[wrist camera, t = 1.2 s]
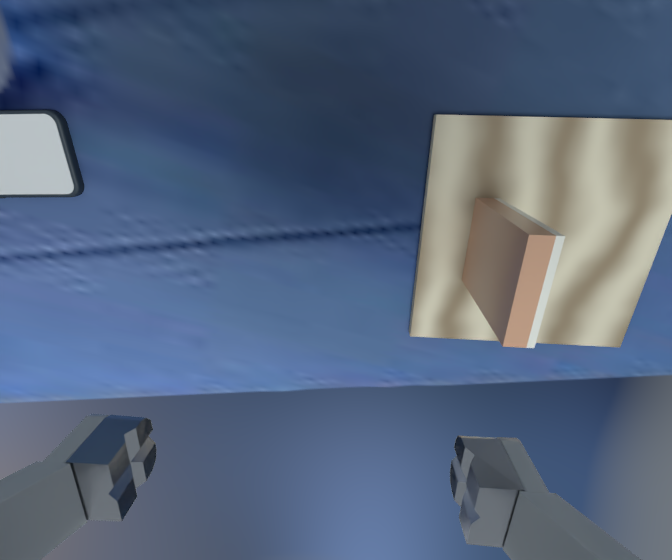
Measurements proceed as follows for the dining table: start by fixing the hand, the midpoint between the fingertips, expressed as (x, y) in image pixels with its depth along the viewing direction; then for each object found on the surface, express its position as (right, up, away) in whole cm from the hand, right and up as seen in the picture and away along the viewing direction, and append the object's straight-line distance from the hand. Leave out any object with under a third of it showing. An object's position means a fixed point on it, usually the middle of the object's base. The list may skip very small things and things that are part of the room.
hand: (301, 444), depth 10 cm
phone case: (-35, +18, +30) cm, 49 cm away
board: (+22, +9, +30) cm, 38 cm away
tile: (+16, +8, +29) cm, 34 cm away
